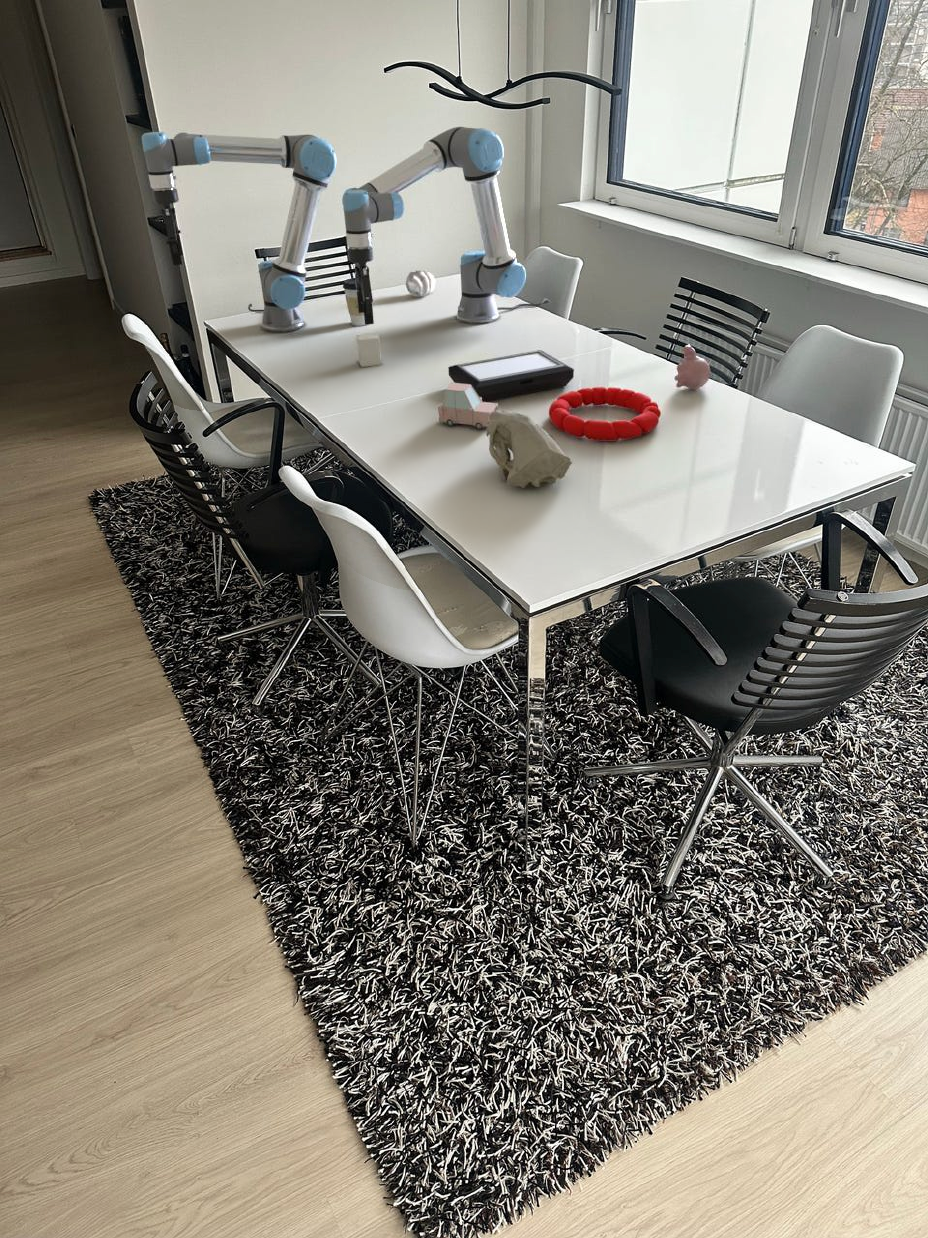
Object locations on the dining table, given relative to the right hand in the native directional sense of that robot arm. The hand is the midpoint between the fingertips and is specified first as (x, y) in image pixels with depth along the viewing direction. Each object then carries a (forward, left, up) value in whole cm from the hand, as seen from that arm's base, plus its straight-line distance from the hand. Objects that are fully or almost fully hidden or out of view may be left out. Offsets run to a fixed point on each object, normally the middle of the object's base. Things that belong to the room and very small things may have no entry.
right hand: (366, 318), depth 282 cm
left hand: (+21, -61, +15) cm, 67 cm away
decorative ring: (+2, +88, -14) cm, 89 cm away
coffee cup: (-31, -33, -14) cm, 48 cm away
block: (0, 0, -14) cm, 15 cm away
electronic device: (-7, +51, -14) cm, 53 cm away
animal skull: (+40, +86, -14) cm, 96 cm away
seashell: (-72, -36, -14) cm, 82 cm away
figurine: (-33, +97, -14) cm, 103 cm away
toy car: (+23, +57, -14) cm, 64 cm away
